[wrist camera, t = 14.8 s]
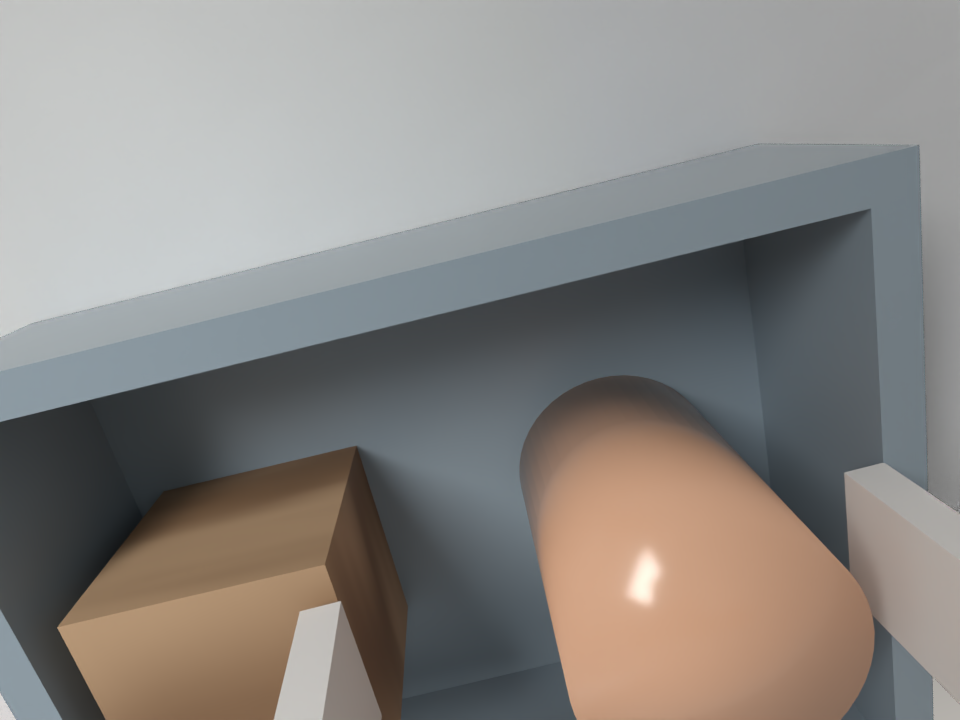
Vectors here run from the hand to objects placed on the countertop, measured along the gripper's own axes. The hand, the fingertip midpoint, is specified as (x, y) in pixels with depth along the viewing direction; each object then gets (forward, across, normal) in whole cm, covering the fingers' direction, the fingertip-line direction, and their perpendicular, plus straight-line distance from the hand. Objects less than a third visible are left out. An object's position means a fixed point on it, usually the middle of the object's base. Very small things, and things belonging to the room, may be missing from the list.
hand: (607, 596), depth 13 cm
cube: (+5, -7, -1) cm, 9 cm away
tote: (+6, -2, 0) cm, 6 cm away
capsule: (+5, +2, 0) cm, 5 cm away
